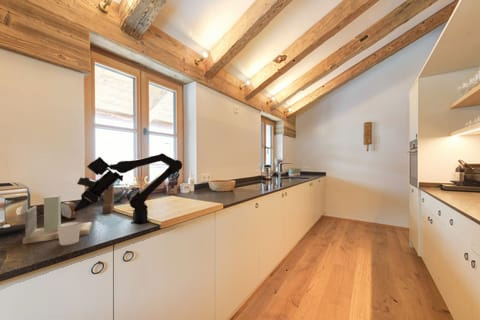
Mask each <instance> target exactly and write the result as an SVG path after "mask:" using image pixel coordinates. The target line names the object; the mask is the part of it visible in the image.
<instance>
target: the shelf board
mask: <svg viewBox="0 0 480 320" xmlns="http://www.w3.org/2000/svg"><path fill="white" fill-rule="evenodd" d="M24 213H25V219H24V220H25V222H24V223H25V236H24V237H23V238H22V244H23V245H26V244H31V243H39V242H46V241H52V240H57V239H58V240H59V234H58V230H57V231H50V232H44V227H41V228H37V221H38V220H37V205H35V206H34V205H33V206H31V207H30V208H28V209H27V210H25V212H24ZM92 225H93V224H92V221H88V222H81V223H80V232H79V236H85V235H89V234H90V232H91V229H92Z"/></svg>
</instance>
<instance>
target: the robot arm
mask: <svg viewBox="0 0 480 320" xmlns="http://www.w3.org/2000/svg"><path fill="white" fill-rule="evenodd" d="M157 162H162V163H163V164H165V165H166V167H165V168H164V170H163V171H162V172H160V173H159V174H158V175H157V176H156V177H155V178H154V179H153V180H152V181H151V182H149V184H147V185H146V187H144V188H143V189H142V190H140V191H139V190H138V189H136V191H134V193H132V194H130V197H129V201H128V202H129V206H130V207H131V208H132V209H133V210H132V211H133V212H132V221H130V223H131V224H136V225H142V224H145V223H147V222H150V221H149V220H150V219H148V217H149V216H148V213H149V212H148V204H146V201H147V199H148V197H149V196H150V195H151V194H152V193H153V192H154V191H155V190H156V189H157V188H159V187H160V186H161V184H163V183H164V182H165V181H166V180H167V179H168V178H169V177H170V176H172V175H174V174H176V173H177V172H179V171H180V170H181V169H182V168H183V162H182V161H180V159H174V158H172V157H170V156H169V155H166V154H165V153H163V152H162V153H158V154H155V155H151V156H147V157H141V158H138V159H131V160H120V161H119V162H116V163H114V164H113V163H111V164H109V163H108V162H106V161H105V160H104V159H103V157H101V156H98V157H97V158H96V159H95V160H93V161H92V162H90V163H89V164H88V165H87V166H86V168H87V169H89V170H90V171H91V172H92V173H94V174H95V175H96V176H98V175H101V177H100V178H99V179H96V180H93V179H91V178H90V177H88V176H80V178H79V179H78V181H77V182H76V183H77V184H76V185H79V186H84V187H87V188H86V189H85V191H83V192H82V193H81V195H80V196H81V200H80V201H79V202H78V203H77V204H76V207H75V209H74V211H75V212H76V211H77V212H78V211H81V210H83V209H84V208H87V207H89V206H92V205H94V204H96V203H97V202H98V201H99V200H100V197H101V196H102V195H104V192H105V191H106V190H108V189H109V187H110V186H111V185H113V184H114V185H115V183H116V182H117V181H118V180H119V181H120V182H123V181H124V175H121V174H125V173H128V172H130V171H133V170H135V169H137V168H140V167H143V166H146V165H152V164H155V163H157ZM113 171H114V172H113ZM105 172H106V173H105Z"/></svg>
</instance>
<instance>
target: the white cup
mask: <svg viewBox="0 0 480 320" xmlns="http://www.w3.org/2000/svg"><path fill="white" fill-rule="evenodd" d="M80 223H82V222H81V221H69V222H64V223H61V224H60V225H58V226H57V227H58V234H59V239H58V241H59V245H60V246H69V245H70V246H71V245H73V244H77V243H78V242H79V240H80V235H79V232H80Z"/></svg>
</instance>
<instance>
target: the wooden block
mask: <svg viewBox="0 0 480 320" xmlns="http://www.w3.org/2000/svg"><path fill="white" fill-rule="evenodd" d="M114 185H115V183H114V184H113V185H111V186H110V187H109V189H108V190H106V191H105V192H104V193H103V204H102V214H103V215H106V214H112V213H113V211H114V210H113V208H115V191H114V190H115V186H114Z"/></svg>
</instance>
